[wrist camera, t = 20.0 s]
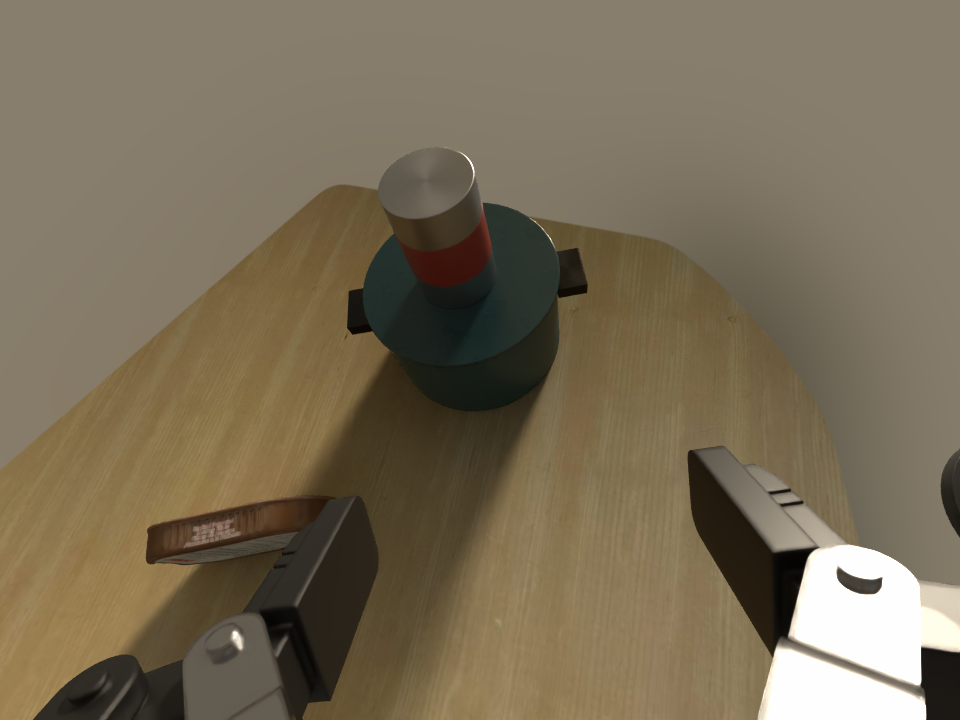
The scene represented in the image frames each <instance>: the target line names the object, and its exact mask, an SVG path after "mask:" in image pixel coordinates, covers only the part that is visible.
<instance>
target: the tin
mask: <svg viewBox="0 0 960 720" xmlns="http://www.w3.org/2000/svg"><path fill="white" fill-rule="evenodd" d="M332 499H336V498H333V497H328V496H314V495H312V496H309V495H306V496H292V497H281V498H274V499H267V500H262V501H257V502H252V503H248V504H243V505H239V506H234V507H229V508H225V509H220V510H215V511H210V512H205V513H201V514H196V515H191V516H187V517H182V518H177V519H172V520H168V521H164V522H160V523H157V524H155V525H152V526H151V527H149V528H148V529H147V532H148V541H147V550H146V561H147V563H148V564H155V563H173V564H179V565H193V564H202V563H210V562H217V561H223V560H229V559H235V558H239V557H245V556H250V555H255V554H260V553H266V552H271V551H276V550H281V549H285V548H286V547H287V545H288V544H289V542H290V541H291V539H292V538H293V537H294V536H295V535H296V534H297V533H298V532H299V531H301V530H302V529H303V528H304V527H305V526H306V525H307V524H309V523H311V522H315V520H316V519H317V517H318V515H319V514H320V512H321V511H322V509H323V507H324V506H325V504H326V503H327V501H329V500H332Z"/></svg>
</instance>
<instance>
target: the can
mask: <svg viewBox="0 0 960 720" xmlns="http://www.w3.org/2000/svg"><path fill="white" fill-rule="evenodd" d="M378 197H379V200H380V203H381V205H382V207H383V209H384V211H385V213H386V215H387V217H388V220H389V222H390V224H391V226H392V228H393V231H394V234H395V236H396V238H397V240H398V242H399V244H400V247H401V249H402V251H403V253H404V255H405V257H406V259H407V261H408V263H409V266H410V268H411V270H412V272H413V273H414V275H415V277H416V279H417V281H418V283H419V285H420V287H421V289H422V292H423V294H424V295H425V297H426V298H427V299H428V300H429V301H430V302H432V303H433V304H435V305H437V306H439V307H443V308H448V309H458V308H463V307H467V306H470V305H472V304H475V303H476V302H478V301H480V300H481V299H482V298H484V297H485V296H486V295H487V294H488V293H489V291H490V290H491V288H492V287H493V285H494V283H495V279H496V266H495V261H494V257H493V252H492V246H491V240H490V236H489V231H488V227H487V222H486V218H485V213H484V209H483V204H482V201H481V199H480V195H479V190H478V185H477V181H476V177H475V172H474V168H473V166H472V163H471V162H470V160H469V159H468V158H467V157H466V156H465V155H463V154H462V153H460V152H458V151H456V150H453V149H449V148H443V147H434V148H425V149H421V150H417V151H414V152H412V153H410V154H407V155H405V156H404V157H402V158H400V159H399V160H397V161H396V162H395V163H394V164H393V165H391V166H390V167H389V168H388V170H387V171H386V172H385V173H384V175H383V177H382V179H381V181H380V184H379V188H378Z"/></svg>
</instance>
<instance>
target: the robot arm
mask: <svg viewBox="0 0 960 720" xmlns="http://www.w3.org/2000/svg"><path fill="white" fill-rule="evenodd" d="M688 473H689V486H690V499H691V510H692V516H693V520H694V523H695V526H696V529H697V532H698V534H699V536H700V537H701V539H702V541H703V542H704V544H705V546H706V547H707V549H708V551H709V552H710V554H711V556H712V557H713V559H714V561H715V562H716V564H717V566H718V567H719V569H720V571H721V572H722V574H723V576H724V577H725V579H726V581H727V582H728V584H729V586H730V587H731V589H732V591H733V592H734V594H735V596H736V597H737V599H738V601H739V602H740V604H741V606H742V607H743V609H744V611H745V612H746V614H747V616H748V617H749V619H750V621H751V622H752V624H753V626H754V627H755V629H756V631H757V632H758V634H759V636H760V637H761V639H762V641H763V642H764V644H765V646H766V647H767V649H768V651H769V652H770V654H771V656H772V657H773V661H772V665H771V669H770V673H769V676H768V680H767V684H766V688H765V691H764V695H763V699H762V703H761V706H760V710H759V714H758V718H757V720H960V585H953V584H944V583H935V582H927V581H921V580H916V579H915V578H914V576H913V575H912V574H911V573H910V572H909V571H908V570H907V569H906V568H905V567H904V566H902V565H901V564H899V563H898V562H896V561H895V560H893V559H891V558H889V557H887V556H885V555H883V554H881V553H878V552H875V551H873V550H870V549H866V548H862V547H857V546H851V545H848V544H847V543H846V542H845V541H844V540H843V539H842V538H841V537H840V536H839V535H838V534H837V533H836V532H835V531H834V530H833V529H832V528H831V527H830V526H829V525H828V524H827V523H826V522H825V521H823V520H822V519H821V518H820V517H819V516H818V515H817V514H816V513H815V512H814V511H813V510H812V509H811V508H810V507H809V506H808V505H807V504H804V503H803V500H802V499H801V498H800V497H799V496H798V495H796V494H795V493H794V492H791V489H790V488H789V487H788V486H787V485H786V484H785V483H784V482H783V481H782V480H781V479H780V478H779V477H778V476H777V475H776V474H774V473H771V472H769V471H767V470H765V469H763V468H761V467H759V466H757V465H755V464H748V465H742V464H741V463H740V462H739V461H738V460H737V459H736V458H735V457H734V456H733V455H732V453H731V452H730V451H729V450H728V449H727V448H726V447H724V446H717V447H710V448H703V449H696V450H690V451H689V452H688ZM377 571H378V549H377V545H376V542H375V538H374V535H373V531H372V528H371V525H370V521H369V518H368V515H367V511H366V508H365V505H364V502H363V500H362V498H361V497H359V496H353V497H346V498H339V499H332V500H329V501H327V503H326V504H325V506H324V507H323V509H322V511H321V512H320V514H319V515H318V517H317V519H316V520H315V522H311V523H309V524H307V525H306V526H305V527H304V528H303V529H302V530H301V531H299V532H298V533H297V534H296V535H295V536H294V537H293V538H292V539H291V541H290V542H289V544H288V545H287V547H286V548H285V550H284V551H283V552H282V556H280V557H279V558H278V560H277V561H276V563H275V564H274V569H271V570H270V572H269V573H268V575H267V576H266V578H265V579H264V581H263V582H262V584H261V585H260V587H259V588H258V590H257V591H256V593H255V594H254V596H253V597H252V599H251V600H250V602H249V603H248V605H247V606H246V608H245V609H244V611H243V612H242V613H240V614H236V615H233V616H230V617H228V618H226V619H224V620H222V621H220V622H218V623H216V624H215V625H213V626H212V627H210V628H209V629H208V630H206V631H205V632H204V633H203V634H201V635H200V636H199V637H198V638H197V639H196V640H195V642H194V643H193V644H192V645H191V646H190V648H189V649H188V651H187V653H186V655H185V657H184V659H183V660H180V661H177V662H175V663H172V664H169V665H166V666H164V667H161V668H158V669H156V670H153V671H150V672H147V673H145V674H144V673H143V671H142V669H141V667H140V665H139V663H138V661H137V659H136V658H135V657H134V656H131V655H119V656H115V657H111V658H108V659H106V660H103V661H101V662H99V663H97V664H95V665H93V666H91V667H90V668H88V669H86V670H85V671H83V672H82V673H80V674H79V675H77V676H76V677H75V678H73V679H72V680H71V681H69V682H68V683H67V684H66V685H65V686H64V687H63V688H61V689H60V690H59V691H58V692H57V693H56V694H55V696H54V697H53V698H52V699H51V700H50V701H49V702H48V703H47V704H46V706H45V707H44V708H43V709H42V710H41V711H40V712H39V713H38V714H37V716H36V717H35V718H34V719H33V720H303V718H302V716H303V714H304V712H305V709H306V707H307V704H308V703H311V702H322V701H331V698H332V695H333V693H334V690H335V687H336V684H337V682H338V679H339V676H340V673H341V671H342V668H343V665H344V662H345V660H346V657H347V654H348V651H349V649H350V646H351V643H352V640H353V638H354V635H355V632H356V630H357V627H358V624H359V621H360V619H361V616H362V613H363V610H364V608H365V605H366V602H367V599H368V597H369V594H370V591H371V588H372V586H373V583H374V580H375V577H376V575H377Z"/></svg>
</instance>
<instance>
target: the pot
mask: <svg viewBox="0 0 960 720" xmlns="http://www.w3.org/2000/svg"><path fill="white" fill-rule="evenodd" d="M482 204H483V209H484V213H485V218H486V222H487V227H488V231H489V236H490V240H491V246H492V252H493V257H494V261H495V266H496V279H495V283H494V285H493V287H492V288H491V290H490V291H489V293H488V294H487V295H486V296H485V297H484V298H482V299H481V300H480V301H478V302H476V303H475V304H472V305H470V306H467V307H463V308H458V309H448V308H443V307H439V306H437V305H435V304H433V303H432V302H430V301H429V300H428V299H427V298H426V297H425V295H424V294H423V292H422V289H421V287H420V285H419V283H418V281H417V279H416V277H415V275H414V273H413V272H412V270H411V268H410V266H409V263H408V261H407V259H406V257H405V255H404V253H403V251H402V249H401V247H400V244H399V242H398V240H397V238H396V236H395V234H393V235H392V236H391V237H390V238H389V239H388V240H387V241H386V242H385V243H384V244H383V245H382V247H381V248H380V250H379V251H378V252H377V254H376V255H375V257H374V259H373V260H372V262H371V264H370V266H369V269H368V271H367V274H366V278H365V282H364V287H363V288H362V289H356V290H351V291H349V300H348V320H347V328H348V330H349V331H350V332H351V333H352V335H354V334H360V333H365V332H371V331H373V332H374V334H375V335H376V337H377V338H378V339H379V340H380V341H381V342H382V344H383V345H384V346H385V347H387V348H388V349H389V350H390V351H391V352H392V353H393V354H394V356H395V357H396V359H397V360H398V361H399V363H400V364H401V366H402V367H403V368H404V370H405V371H406V373H407V374H408V376H409V377H410V378H411V380H412V381H413V383H414V384H415V385H416V386H417V388H418V389H419V390H420V391H421V392H422V393H424V394H425V395H426V396H427V397H429V398H430V399H432V400H433V401H435V402H437V403H439V404H441V405H444V406H447V407H450V408H453V409H459V410H465V411H480V410H488V409H493V408H498V407H501V406H503V405H506V404H509V403H511V402H513V401H515V400H517V399H519V398H521V397H522V396H524V395H525V394H527V393H528V392H529V391H531V390H532V389H533V388H534V387H535V386H536V385H537V384H538V383H539V382H540V381H541V380H542V379H543V378H544V376H545V375H546V373H547V372H548V370H549V369H550V367H551V365H552V363H553V361H554V359H555V356H556V353H557V349H558V344H559V318H558V298H557V294H558V297H559V298H561V297H567V296H572V295H578V294H584V293H587V285H588V284H587V280H586V276H585V273H584V269H583V265H582V261H581V257H580V253H579V249H578V248H574V249H569V250H563V251H558V252H556V249H555V247H554V245H553V243H552V241H551V239H550V238H549V236H548V235H547V233H546V232H545V231H544V230H543V229H542V228H541V227H540V226H539V225H538V224H537V223H536V222H535V221H533V220H532V219H531V218H529V217H528V216H526V215H524V214H522V213H521V212H519V211H516V210H514V209H511V208H508V207H505V206H501V205H497V204H490V203H482Z"/></svg>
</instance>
